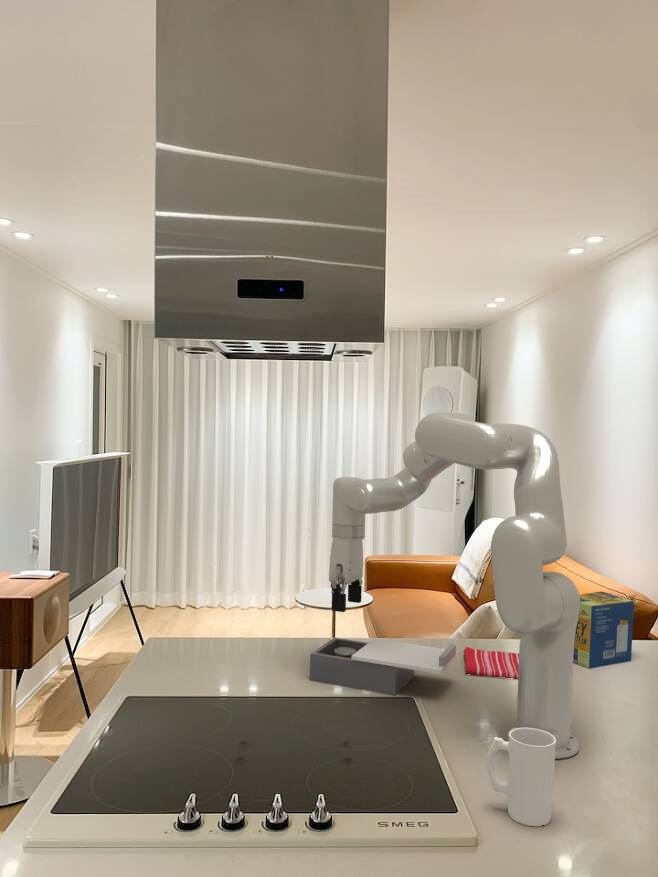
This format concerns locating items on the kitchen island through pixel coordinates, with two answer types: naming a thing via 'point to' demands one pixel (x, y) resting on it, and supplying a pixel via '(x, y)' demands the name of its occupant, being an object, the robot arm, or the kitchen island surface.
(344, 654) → the jar
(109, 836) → the kitchen island surface
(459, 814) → the kitchen island surface
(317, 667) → the housing
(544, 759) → the mug
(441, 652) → the lid
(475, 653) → the dish towel
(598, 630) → the protein box
